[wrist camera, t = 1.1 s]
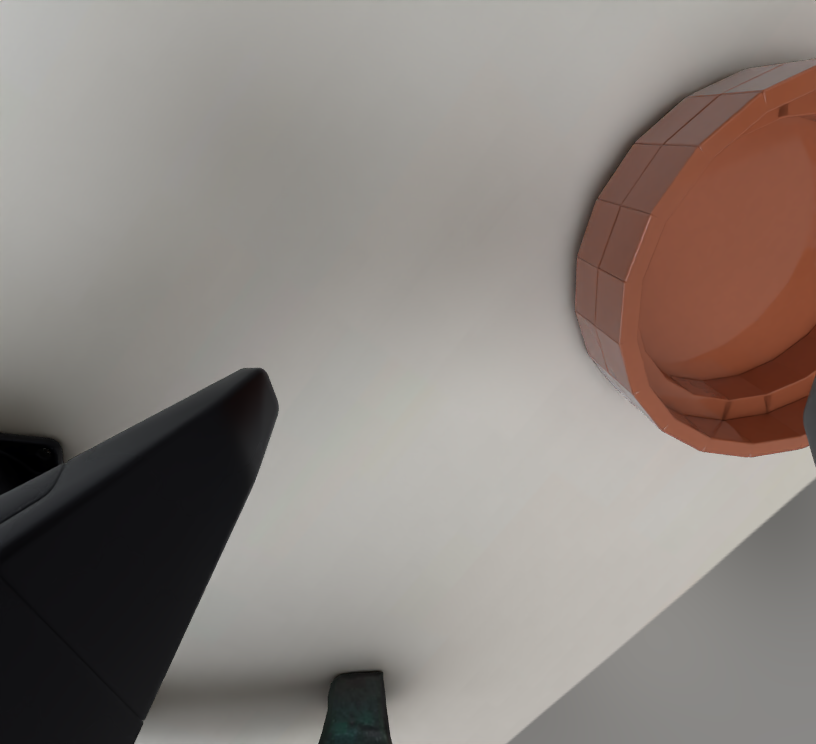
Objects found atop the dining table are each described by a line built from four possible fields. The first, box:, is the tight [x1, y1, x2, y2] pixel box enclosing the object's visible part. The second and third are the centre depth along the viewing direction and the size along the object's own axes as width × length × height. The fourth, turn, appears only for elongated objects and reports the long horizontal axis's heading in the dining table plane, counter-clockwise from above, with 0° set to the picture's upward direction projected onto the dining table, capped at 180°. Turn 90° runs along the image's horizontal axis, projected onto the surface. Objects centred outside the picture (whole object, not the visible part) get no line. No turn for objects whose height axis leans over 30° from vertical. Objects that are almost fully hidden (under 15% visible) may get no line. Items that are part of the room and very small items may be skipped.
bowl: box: [575, 59, 816, 457], centre depth 21 cm, size 14×14×4 cm
